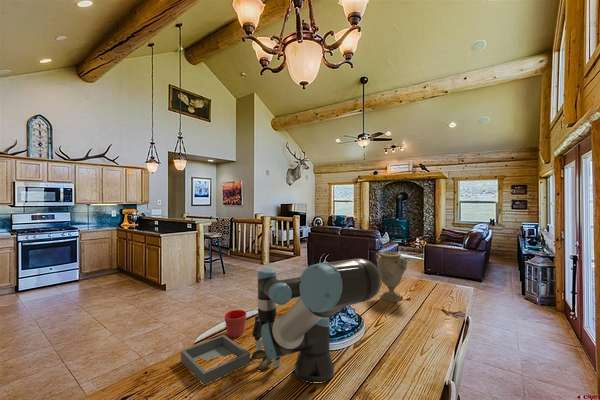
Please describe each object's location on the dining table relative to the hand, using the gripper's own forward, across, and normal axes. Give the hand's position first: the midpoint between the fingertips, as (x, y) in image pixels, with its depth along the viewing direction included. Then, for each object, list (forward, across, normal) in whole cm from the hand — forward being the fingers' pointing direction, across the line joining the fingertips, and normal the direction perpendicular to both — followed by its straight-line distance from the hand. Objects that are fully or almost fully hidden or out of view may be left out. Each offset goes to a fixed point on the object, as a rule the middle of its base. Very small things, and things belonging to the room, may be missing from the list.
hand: (267, 360), depth 116 cm
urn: (0, +1, -102) cm, 102 cm away
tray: (0, +14, +16) cm, 21 cm away
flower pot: (0, +30, -3) cm, 30 cm away
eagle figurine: (0, -1, +2) cm, 3 cm away
